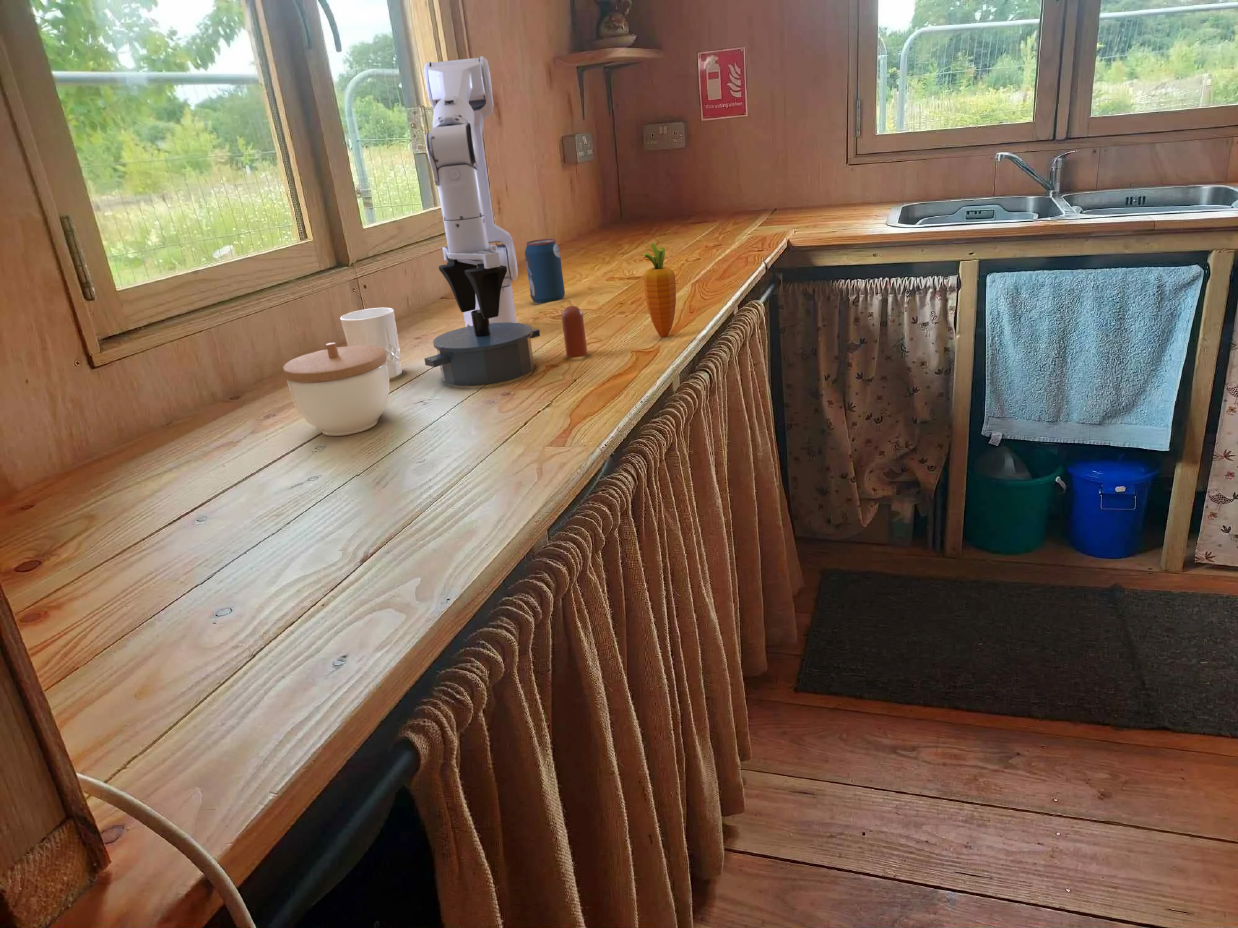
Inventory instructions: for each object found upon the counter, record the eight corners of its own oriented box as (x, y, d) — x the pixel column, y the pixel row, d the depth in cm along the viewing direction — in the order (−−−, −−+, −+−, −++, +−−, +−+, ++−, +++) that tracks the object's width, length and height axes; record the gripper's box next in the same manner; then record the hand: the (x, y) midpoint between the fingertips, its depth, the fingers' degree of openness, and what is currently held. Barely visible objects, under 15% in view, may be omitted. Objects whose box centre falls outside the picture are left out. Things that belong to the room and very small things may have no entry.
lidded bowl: (307, 452, 105) (285, 364, 101) (292, 425, 116) (272, 344, 112) (409, 427, 110) (392, 342, 106) (386, 403, 121) (369, 325, 117)
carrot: (677, 343, 136) (670, 245, 130) (646, 344, 137) (637, 247, 131) (681, 335, 140) (674, 240, 135) (651, 336, 141) (643, 242, 136)
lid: (419, 345, 130) (413, 314, 128) (505, 325, 137) (501, 296, 135) (459, 362, 119) (453, 328, 117) (551, 339, 126) (547, 307, 124)
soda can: (572, 298, 177) (565, 238, 173) (552, 306, 172) (544, 244, 167) (545, 297, 181) (537, 238, 176) (524, 305, 176) (516, 244, 171)
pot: (410, 384, 129) (403, 348, 127) (513, 353, 140) (508, 319, 138) (460, 399, 119) (453, 361, 117) (566, 365, 131) (561, 329, 128)
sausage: (562, 358, 134) (556, 307, 131) (578, 353, 136) (572, 303, 133) (575, 361, 132) (569, 309, 129) (591, 356, 134) (586, 304, 131)
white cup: (416, 370, 136) (404, 307, 132) (384, 386, 129) (370, 320, 126) (376, 369, 139) (363, 307, 135) (343, 384, 133) (328, 319, 129)
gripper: (513, 215, 117) (527, 314, 122) (468, 211, 129) (482, 302, 134) (465, 223, 114) (482, 325, 119) (423, 218, 125) (439, 312, 130)
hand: (479, 314), depth 126 cm, fingers open, 7 cm apart
